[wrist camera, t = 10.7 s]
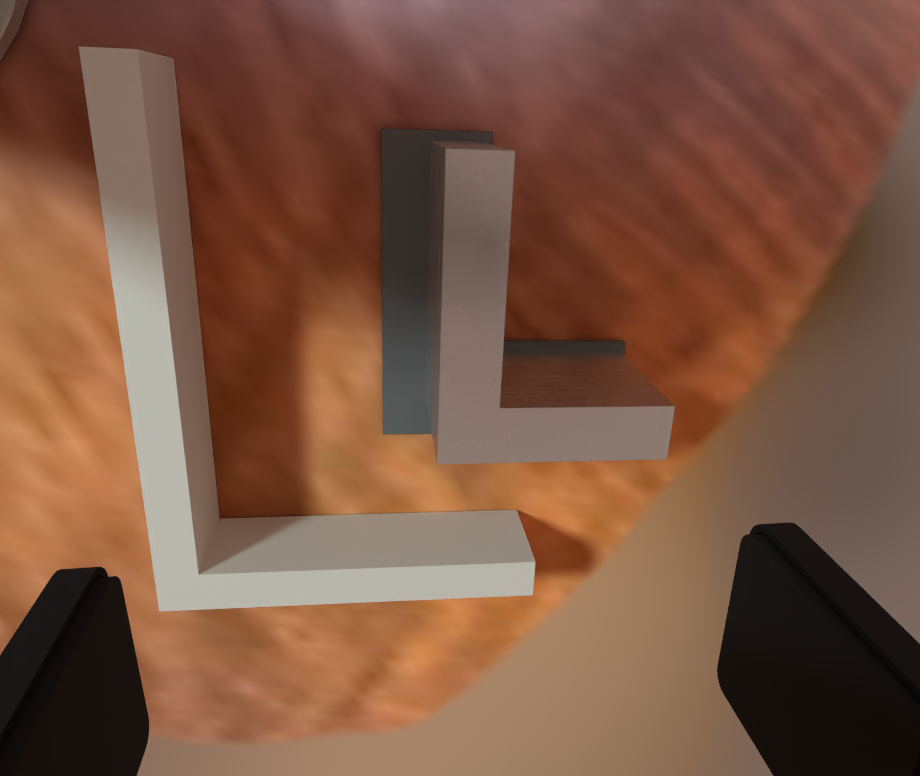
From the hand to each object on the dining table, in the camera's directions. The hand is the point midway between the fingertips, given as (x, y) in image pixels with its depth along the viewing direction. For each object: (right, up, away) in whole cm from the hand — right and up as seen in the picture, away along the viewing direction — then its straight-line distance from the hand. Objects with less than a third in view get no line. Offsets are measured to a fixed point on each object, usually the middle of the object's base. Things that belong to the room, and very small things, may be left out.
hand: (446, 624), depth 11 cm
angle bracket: (+3, +8, +17) cm, 19 cm away
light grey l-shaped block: (-4, +5, +18) cm, 19 cm away
